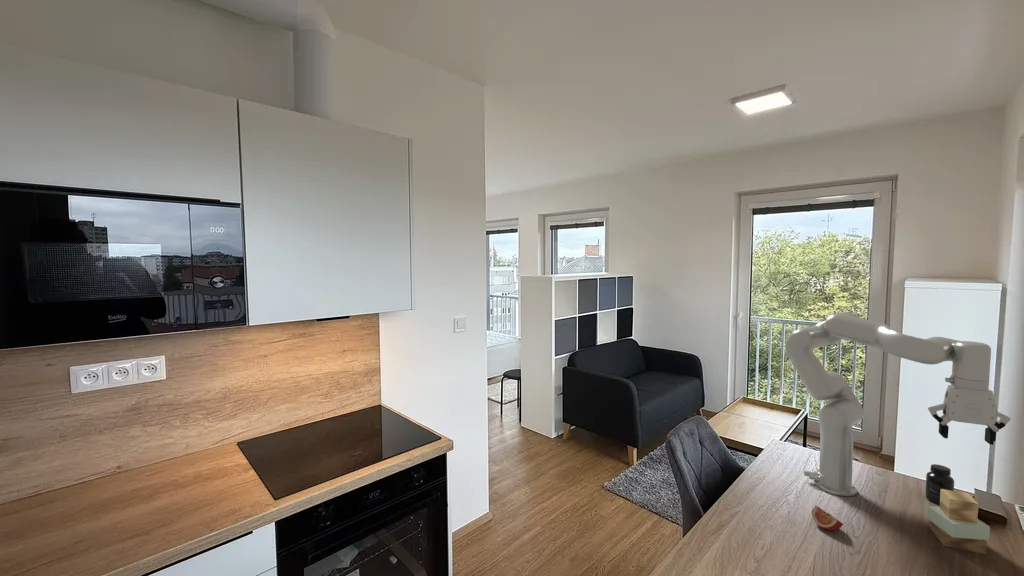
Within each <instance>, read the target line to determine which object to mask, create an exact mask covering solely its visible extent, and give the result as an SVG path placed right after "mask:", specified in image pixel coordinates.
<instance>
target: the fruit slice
mask: <svg viewBox="0 0 1024 576" xmlns="http://www.w3.org/2000/svg"><path fill="white" fill-rule="evenodd" d="M811 515H812V519H813V520H814V522H815V524H816V525H818V527H820V528H821V529H823V530H825V531H831V532H833V531H837V530H839V529H840V528H842V527H843V525H844V524H843V522H841V521H840V520H838V519H837V518H836V517H835V516H833V515H831V514H830V513H829V512H827V511H825V510H823V509H822V507H820V506H817V505H815V506H814V507H813V509H812V510H811Z"/></svg>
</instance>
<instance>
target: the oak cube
mask: <svg viewBox="0 0 1024 576" xmlns="http://www.w3.org/2000/svg"><path fill="white" fill-rule="evenodd" d="M939 507H940V509H941V510H942V511H943V512H944V513H945V515H946V516H947V517H948V518H949V519H954V520H960V521H965V522H970V523H975V524H977V519H978V516H979V515H978V513H979V503H978V502H977V501H976V500H975V499H974V498H973V497H972V496H971V495H970V494H969V493H967V492H962V491H956V490H954V491H951V490H945V489H941V491H940V505H939Z"/></svg>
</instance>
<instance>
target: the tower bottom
mask: <svg viewBox="0 0 1024 576" xmlns="http://www.w3.org/2000/svg"><path fill="white" fill-rule="evenodd" d="M929 529H930V530H931V532H932V533H933V534H934V536H935V537H936V538H937V539H938V540H939V542H940V543H941V544H942V545H943V546H944V547H950V548H953V549H957V550H958V549H959V550H963V551H968V552H972V553H977V554H983V555H987V553H988V552H987V550H988V548H987V547H988V540H979V539H967V538H955V537H951V536H950V535H949V534H947V533H946V532H945V531H943V530H942V529H941V528H939V527H938V526H937V525H935V524H934V523H933V522H931V521H930V520H929Z"/></svg>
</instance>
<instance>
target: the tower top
mask: <svg viewBox="0 0 1024 576" xmlns="http://www.w3.org/2000/svg"><path fill="white" fill-rule="evenodd" d="M927 520H929V522H930V521H931V522H933V523H934V524H935V525H937V526H938V527H939V528H941V529H942V530H943V531H945V532H946V533H947V534H949V535H950V536H951V537H955V538H967V539H979V540H986V541H990V534H991V533H990V531H991V527H990V526H989V525H988V524H986V523H985V522H983V521H982V520H980V519H979V518H977V524H975V523H970V522H965V521H960V520H954V519H949V518H948V517H947V516H946V515H945V513H944V512H943V511H942V510H941V509H940V506H933V505H927Z"/></svg>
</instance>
